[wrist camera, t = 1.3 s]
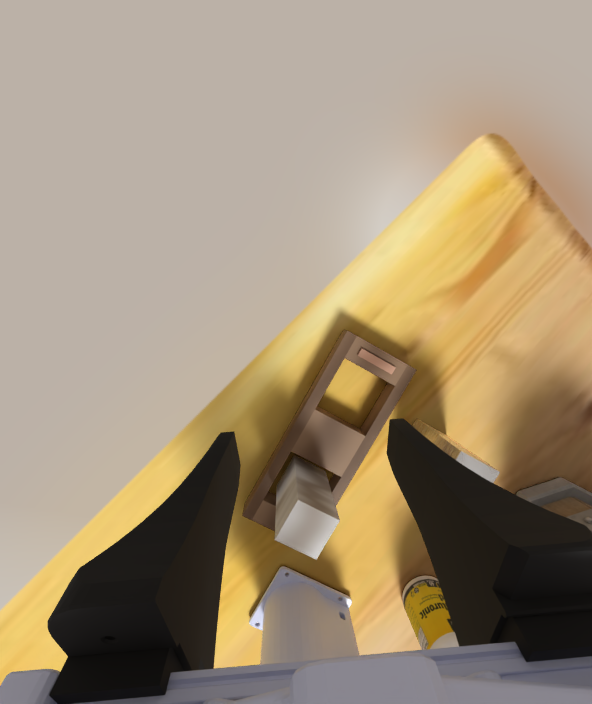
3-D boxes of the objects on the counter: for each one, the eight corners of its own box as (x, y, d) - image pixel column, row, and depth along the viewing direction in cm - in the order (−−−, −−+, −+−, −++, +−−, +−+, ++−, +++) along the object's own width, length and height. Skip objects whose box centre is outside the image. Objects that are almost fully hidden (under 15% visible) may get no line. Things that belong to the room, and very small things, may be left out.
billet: (446, 434, 32) (500, 472, 24) (427, 464, 33) (474, 511, 25) (416, 418, 32) (461, 451, 24) (398, 449, 32) (436, 491, 24)
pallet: (408, 366, 31) (451, 382, 23) (309, 534, 33) (317, 603, 25) (343, 329, 30) (365, 333, 22) (244, 503, 32) (232, 564, 24)
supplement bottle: (444, 570, 34) (509, 670, 24) (445, 611, 35) (508, 724, 25) (399, 575, 34) (447, 678, 24) (401, 616, 34) (447, 732, 25)
